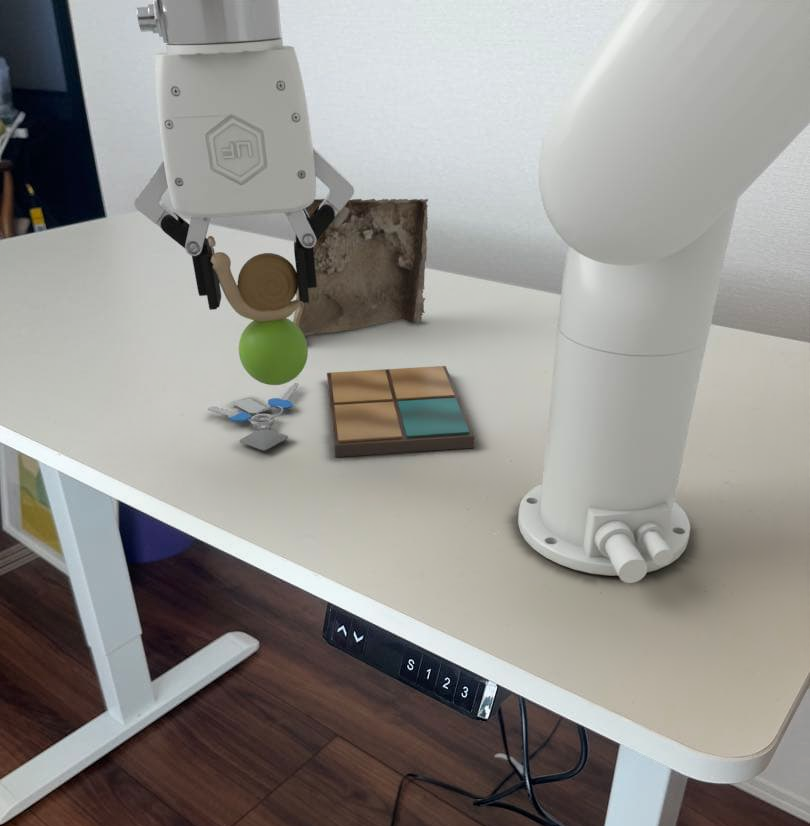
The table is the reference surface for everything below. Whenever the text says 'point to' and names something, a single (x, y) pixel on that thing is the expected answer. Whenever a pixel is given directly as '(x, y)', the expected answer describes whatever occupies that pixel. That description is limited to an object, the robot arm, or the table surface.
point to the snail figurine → (265, 315)
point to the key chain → (263, 435)
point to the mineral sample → (367, 266)
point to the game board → (396, 412)
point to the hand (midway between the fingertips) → (260, 298)
